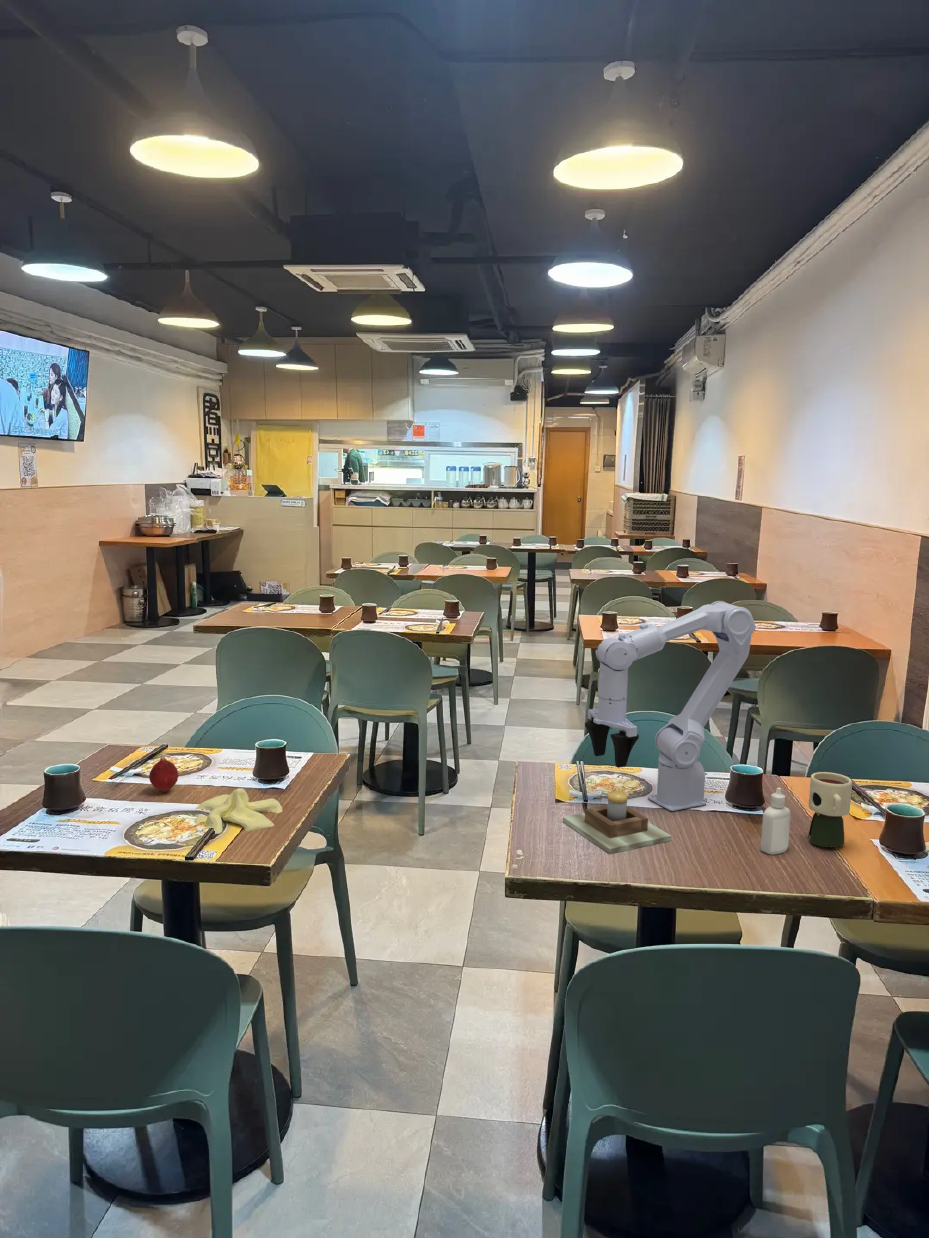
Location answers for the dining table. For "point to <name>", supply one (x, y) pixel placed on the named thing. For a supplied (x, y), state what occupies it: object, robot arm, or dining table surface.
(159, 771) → the onion
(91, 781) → the dining table surface
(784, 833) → the eye dropper bottle
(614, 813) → the yellow capped shaker
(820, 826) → the character mug
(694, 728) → the robot arm
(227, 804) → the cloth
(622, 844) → the holder
